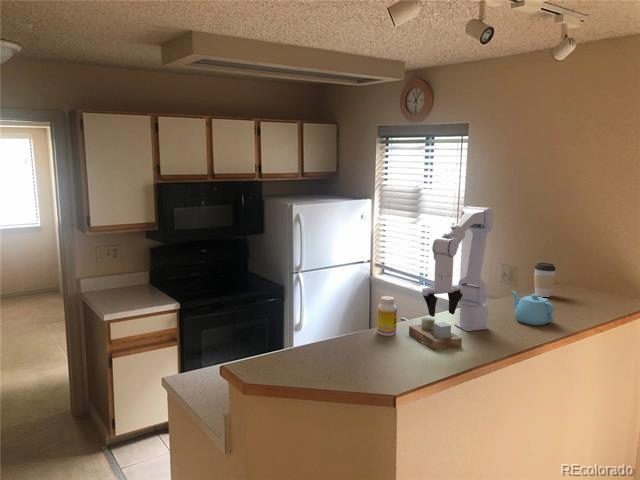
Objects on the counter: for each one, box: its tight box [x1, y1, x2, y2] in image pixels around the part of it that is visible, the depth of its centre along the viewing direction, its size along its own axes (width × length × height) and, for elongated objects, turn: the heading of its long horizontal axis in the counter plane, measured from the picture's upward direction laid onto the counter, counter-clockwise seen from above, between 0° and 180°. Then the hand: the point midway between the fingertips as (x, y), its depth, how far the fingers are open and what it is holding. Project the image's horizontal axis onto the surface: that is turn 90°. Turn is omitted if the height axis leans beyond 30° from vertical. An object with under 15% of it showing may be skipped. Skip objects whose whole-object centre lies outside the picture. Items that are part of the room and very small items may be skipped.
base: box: [408, 317, 463, 351], centre depth 172 cm, size 10×16×6 cm, turn 20°
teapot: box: [510, 290, 555, 326], centre depth 194 cm, size 13×11×18 cm
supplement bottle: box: [376, 295, 398, 337], centre depth 178 cm, size 7×7×13 cm
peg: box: [433, 321, 452, 339], centre depth 168 cm, size 4×4×7 cm
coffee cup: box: [533, 262, 557, 298], centre depth 231 cm, size 9×9×15 cm
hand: (441, 314), depth 168 cm, fingers open, 7 cm apart
